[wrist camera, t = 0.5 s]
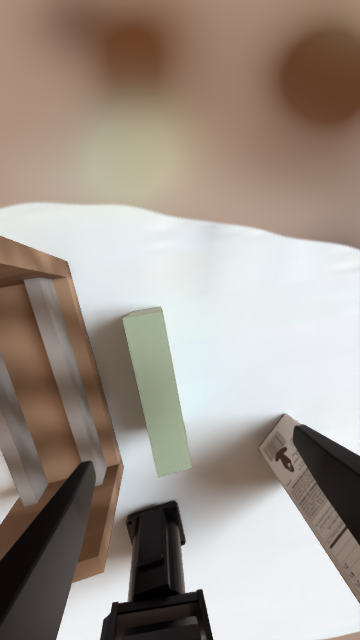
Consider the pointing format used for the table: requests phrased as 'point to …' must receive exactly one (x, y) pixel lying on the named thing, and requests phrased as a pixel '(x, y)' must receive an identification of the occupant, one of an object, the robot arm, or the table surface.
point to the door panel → (157, 389)
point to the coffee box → (312, 502)
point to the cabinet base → (51, 400)
